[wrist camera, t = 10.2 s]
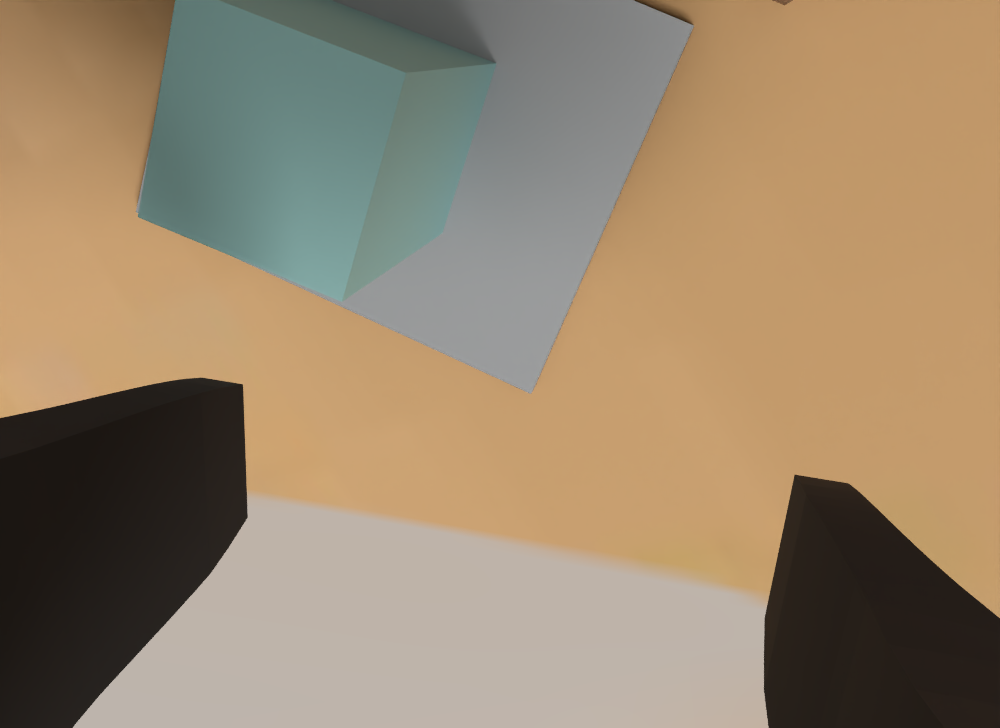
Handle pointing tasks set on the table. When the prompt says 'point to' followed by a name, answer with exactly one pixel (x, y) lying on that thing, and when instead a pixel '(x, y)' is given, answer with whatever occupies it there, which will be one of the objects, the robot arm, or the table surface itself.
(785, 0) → the walnut pen
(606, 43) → the slate mat
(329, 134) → the teal block
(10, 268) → the table surface
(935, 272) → the table surface
